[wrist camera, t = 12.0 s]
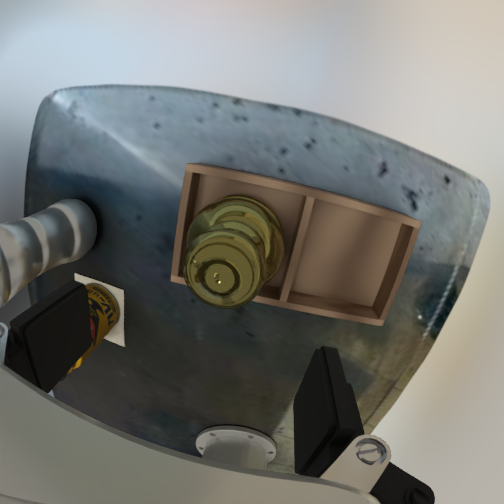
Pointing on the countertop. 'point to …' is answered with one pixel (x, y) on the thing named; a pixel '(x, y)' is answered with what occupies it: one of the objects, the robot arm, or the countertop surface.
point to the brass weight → (233, 250)
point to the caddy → (313, 243)
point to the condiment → (102, 315)
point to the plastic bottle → (43, 243)
